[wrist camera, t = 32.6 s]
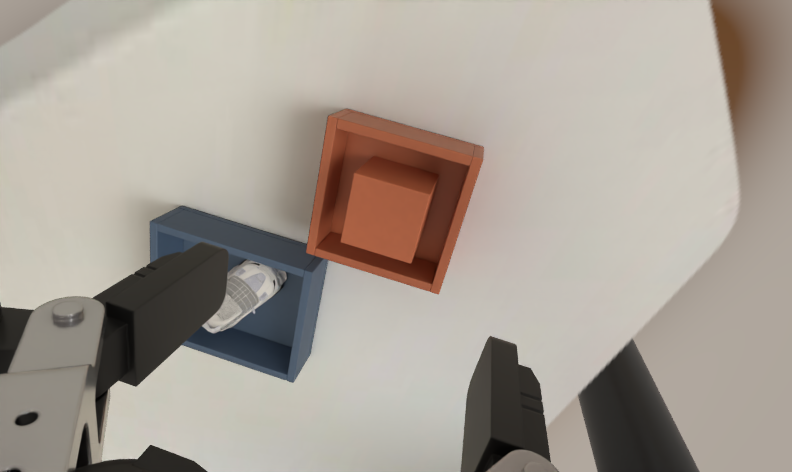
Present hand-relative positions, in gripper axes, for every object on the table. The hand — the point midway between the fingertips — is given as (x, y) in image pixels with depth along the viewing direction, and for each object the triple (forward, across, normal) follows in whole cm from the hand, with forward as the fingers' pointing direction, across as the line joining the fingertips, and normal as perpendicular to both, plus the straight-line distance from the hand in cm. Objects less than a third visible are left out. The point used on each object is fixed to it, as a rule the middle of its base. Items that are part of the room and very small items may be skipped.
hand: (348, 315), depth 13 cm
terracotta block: (+17, +2, +2) cm, 17 cm away
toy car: (+17, +12, +13) cm, 24 cm away
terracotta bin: (+17, +2, +2) cm, 18 cm away
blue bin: (+17, +12, +13) cm, 25 cm away
